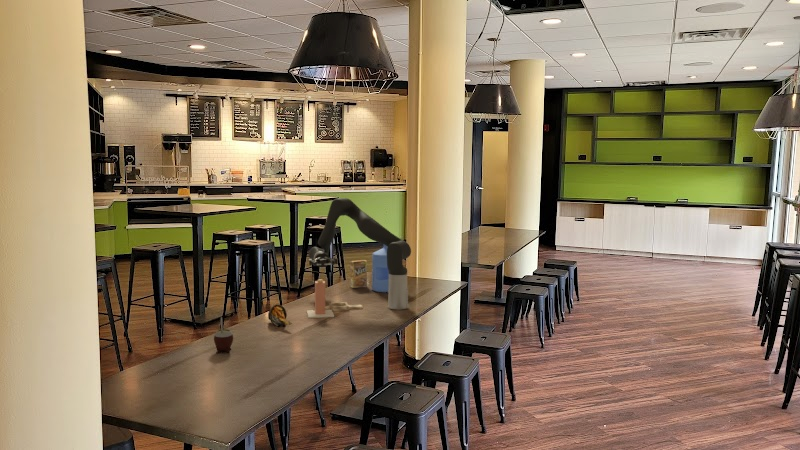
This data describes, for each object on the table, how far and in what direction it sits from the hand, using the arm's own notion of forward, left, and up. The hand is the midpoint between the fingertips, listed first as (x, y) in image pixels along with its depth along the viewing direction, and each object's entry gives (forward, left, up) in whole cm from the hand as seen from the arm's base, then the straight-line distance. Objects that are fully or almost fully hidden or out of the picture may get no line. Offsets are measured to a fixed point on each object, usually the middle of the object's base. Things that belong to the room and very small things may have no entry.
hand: (324, 263), depth 310 cm
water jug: (-38, -35, -22) cm, 56 cm away
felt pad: (+3, +14, -22) cm, 26 cm away
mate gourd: (+44, +65, -22) cm, 81 cm away
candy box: (-24, -45, -22) cm, 56 cm away
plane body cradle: (-7, +4, -22) cm, 23 cm away
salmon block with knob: (+3, +14, -21) cm, 26 cm away
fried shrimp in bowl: (+22, +31, -22) cm, 44 cm away
